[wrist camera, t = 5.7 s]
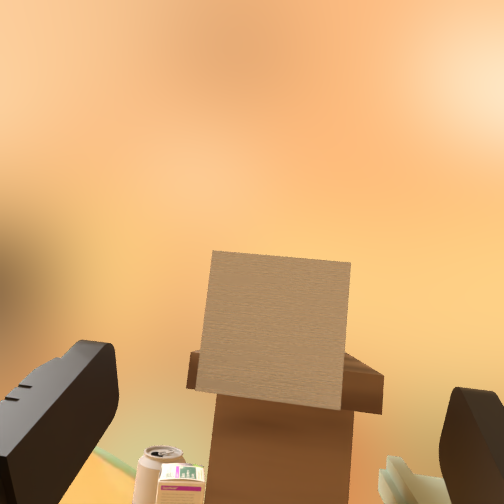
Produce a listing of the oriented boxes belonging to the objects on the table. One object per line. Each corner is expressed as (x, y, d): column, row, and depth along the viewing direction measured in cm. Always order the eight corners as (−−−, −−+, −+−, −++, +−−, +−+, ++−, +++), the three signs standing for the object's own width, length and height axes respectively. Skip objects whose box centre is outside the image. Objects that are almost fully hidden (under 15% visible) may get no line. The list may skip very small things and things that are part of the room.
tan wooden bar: (340, 410, 8) (350, 262, 9) (194, 390, 9) (212, 250, 9) (313, 349, 32) (316, 309, 32) (274, 344, 32) (278, 305, 33)
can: (124, 522, 67) (136, 443, 69) (170, 518, 70) (180, 442, 72) (132, 547, 60) (144, 458, 62) (182, 541, 63) (193, 457, 65)
